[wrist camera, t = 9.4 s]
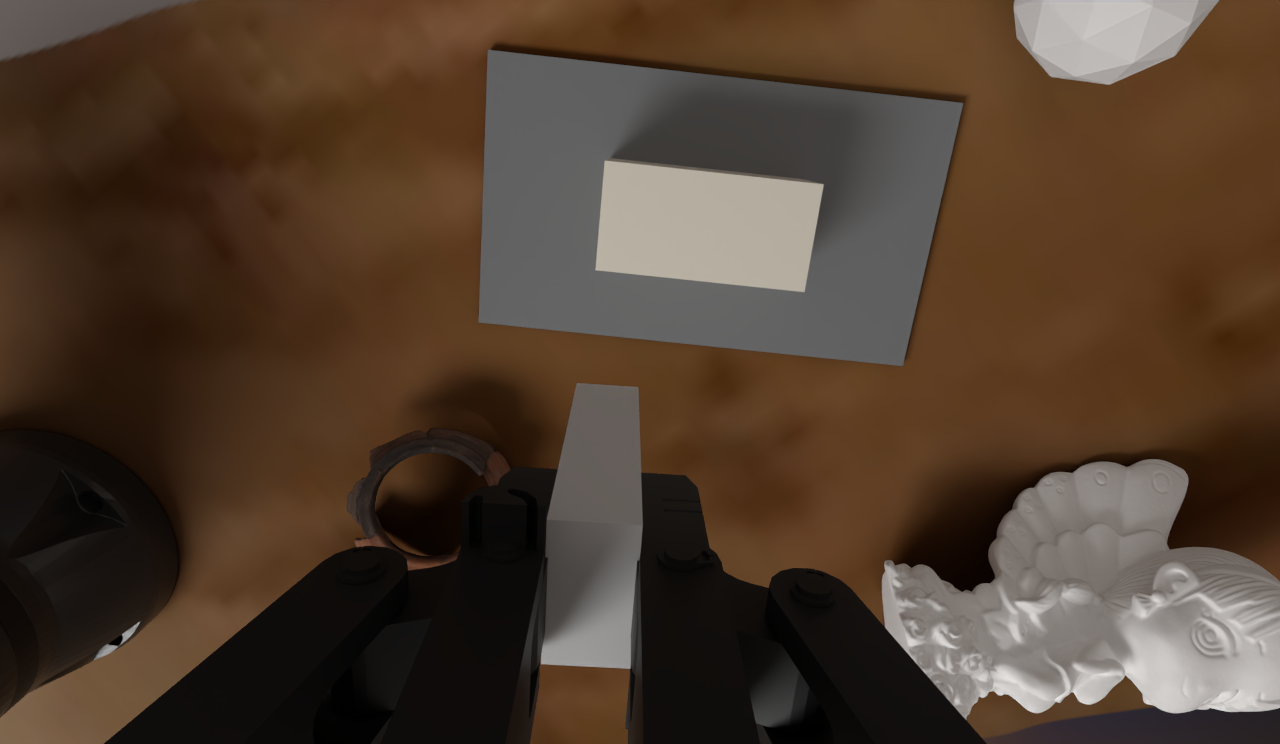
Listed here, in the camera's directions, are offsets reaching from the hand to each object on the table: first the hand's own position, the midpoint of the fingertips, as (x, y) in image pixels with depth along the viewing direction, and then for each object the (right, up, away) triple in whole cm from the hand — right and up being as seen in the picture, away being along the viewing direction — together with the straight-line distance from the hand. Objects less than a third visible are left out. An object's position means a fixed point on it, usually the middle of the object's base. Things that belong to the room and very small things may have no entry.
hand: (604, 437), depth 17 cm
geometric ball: (+22, +20, +17) cm, 34 cm away
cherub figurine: (+25, -10, +27) cm, 38 cm away
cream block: (-1, +10, +17) cm, 20 cm away
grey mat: (+5, +10, +20) cm, 23 cm away
